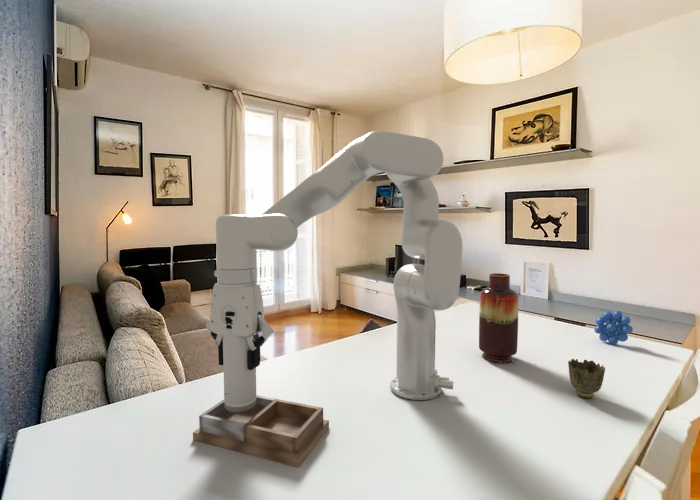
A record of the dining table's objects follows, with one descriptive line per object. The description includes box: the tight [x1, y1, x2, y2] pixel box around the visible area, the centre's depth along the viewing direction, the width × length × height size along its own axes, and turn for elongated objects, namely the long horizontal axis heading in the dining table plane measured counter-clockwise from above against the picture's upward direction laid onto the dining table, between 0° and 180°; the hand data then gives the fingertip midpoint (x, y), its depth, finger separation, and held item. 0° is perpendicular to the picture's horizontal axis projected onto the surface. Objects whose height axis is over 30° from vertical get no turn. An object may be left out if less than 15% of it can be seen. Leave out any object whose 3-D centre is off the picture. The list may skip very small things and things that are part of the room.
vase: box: [478, 272, 520, 364], centre depth 112 cm, size 11×11×26 cm
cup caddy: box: [192, 394, 330, 468], centre depth 72 cm, size 23×13×4 cm, turn 70°
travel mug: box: [222, 312, 257, 412], centre depth 73 cm, size 6×7×20 cm
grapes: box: [594, 310, 634, 345], centre depth 125 cm, size 12×7×12 cm, turn 28°
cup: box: [567, 358, 606, 400], centre depth 87 cm, size 8×7×8 cm
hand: (239, 364), depth 73 cm, fingers closed on travel mug, 6 cm apart
